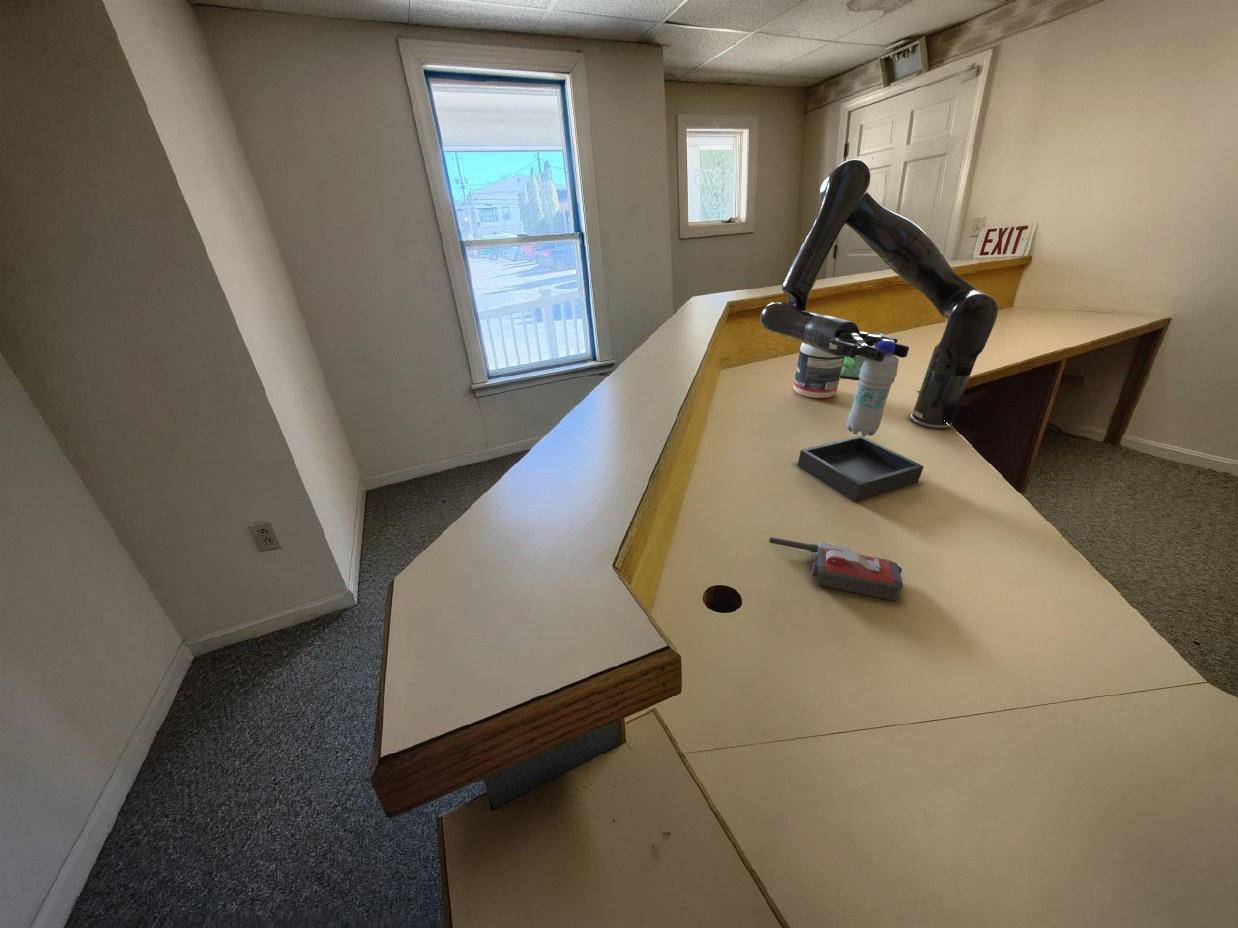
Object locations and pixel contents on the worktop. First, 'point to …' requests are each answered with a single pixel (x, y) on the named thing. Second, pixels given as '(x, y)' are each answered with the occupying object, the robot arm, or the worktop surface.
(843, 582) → the walkie-talkie
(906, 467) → the tray
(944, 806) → the worktop surface
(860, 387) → the bottle
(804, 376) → the supplement tub
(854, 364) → the mouse mat
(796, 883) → the worktop surface
